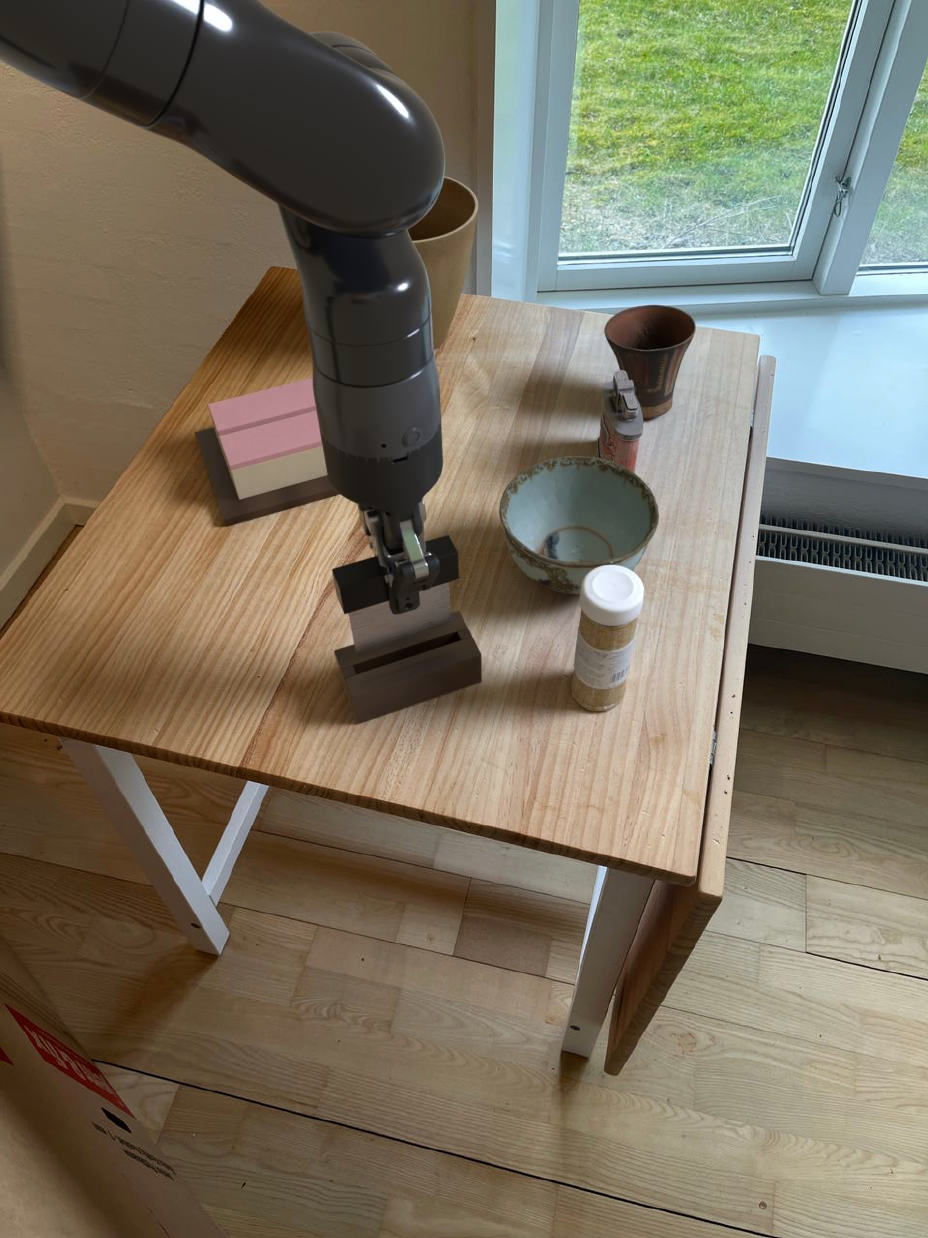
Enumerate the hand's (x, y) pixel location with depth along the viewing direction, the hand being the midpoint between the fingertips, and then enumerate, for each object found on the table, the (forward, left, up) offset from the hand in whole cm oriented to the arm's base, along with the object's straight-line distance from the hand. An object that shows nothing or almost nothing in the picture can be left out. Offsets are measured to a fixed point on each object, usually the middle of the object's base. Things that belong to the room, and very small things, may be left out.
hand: (399, 595), depth 71 cm
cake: (-3, +28, -10) cm, 30 cm away
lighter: (+28, +17, -11) cm, 35 cm away
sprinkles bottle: (+14, -7, -11) cm, 19 cm away
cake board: (-3, +31, -11) cm, 33 cm away
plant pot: (+17, +46, -11) cm, 50 cm away
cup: (+35, +25, -11) cm, 45 cm away
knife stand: (0, 0, -11) cm, 11 cm away
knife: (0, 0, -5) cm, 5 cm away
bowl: (+18, +6, -11) cm, 22 cm away
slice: (-3, +34, -10) cm, 35 cm away
